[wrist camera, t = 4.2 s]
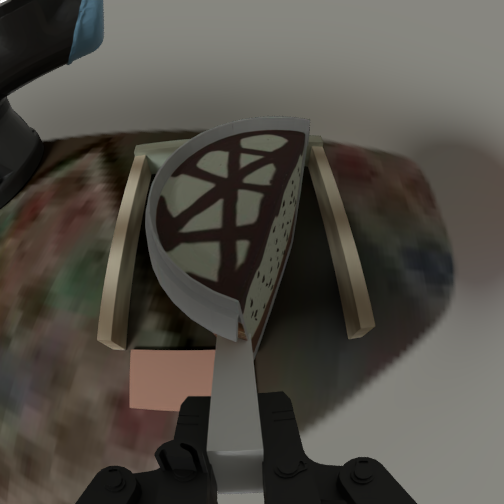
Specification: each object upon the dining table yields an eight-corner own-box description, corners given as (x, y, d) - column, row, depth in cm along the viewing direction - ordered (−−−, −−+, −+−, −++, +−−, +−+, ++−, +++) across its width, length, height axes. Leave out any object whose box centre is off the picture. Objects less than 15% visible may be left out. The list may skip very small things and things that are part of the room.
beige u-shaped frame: (143, 168, 27) (136, 145, 24) (315, 159, 27) (320, 135, 25) (113, 349, 18) (93, 337, 15) (361, 337, 18) (378, 323, 16)
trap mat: (132, 350, 18) (130, 349, 17) (251, 349, 18) (251, 348, 18) (131, 407, 16) (129, 407, 15) (255, 409, 16) (256, 409, 16)
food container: (224, 213, 24) (211, 102, 16) (296, 230, 23) (311, 115, 15) (155, 349, 17) (75, 261, 9) (245, 383, 16) (231, 319, 8)
